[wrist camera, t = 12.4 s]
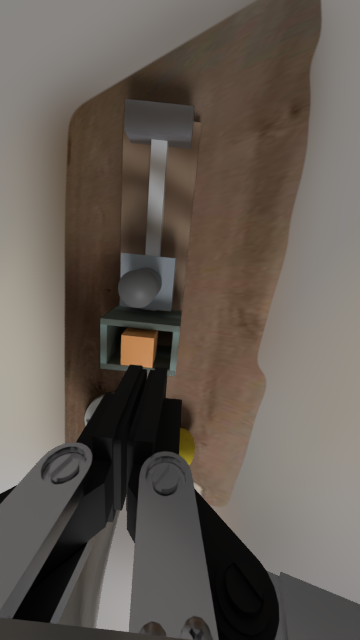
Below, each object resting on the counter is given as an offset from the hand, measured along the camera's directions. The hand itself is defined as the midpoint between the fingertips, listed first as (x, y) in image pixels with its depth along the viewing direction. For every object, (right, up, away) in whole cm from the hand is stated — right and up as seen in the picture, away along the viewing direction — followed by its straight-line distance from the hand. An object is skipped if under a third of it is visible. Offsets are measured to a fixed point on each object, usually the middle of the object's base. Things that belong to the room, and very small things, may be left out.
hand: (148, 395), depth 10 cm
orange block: (-4, 0, +21) cm, 21 cm away
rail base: (-2, +14, +24) cm, 28 cm away
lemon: (+1, -18, +33) cm, 38 cm away
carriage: (-3, +9, +23) cm, 25 cm away
